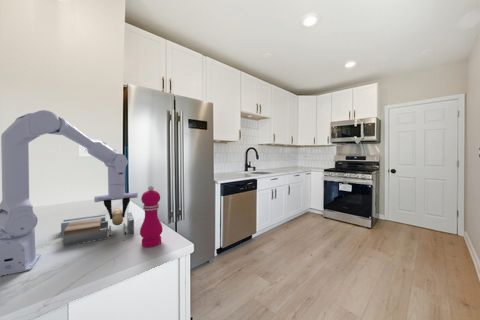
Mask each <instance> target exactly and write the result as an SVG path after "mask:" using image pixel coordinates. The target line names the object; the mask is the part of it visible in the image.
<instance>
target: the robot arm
mask: <svg viewBox="0 0 480 320" xmlns="http://www.w3.org/2000/svg"><path fill="white" fill-rule="evenodd" d="M47 134H48V135H57V136H63V137H65V138H67V139H69V140H71V141H73V142H74V143H76V144H78V145H80V146H82V147H84V148H85V149H86V150H87V153H88V155H90V156H92V157H94V158H95V159H97V160H99V161H101V162H103V163H104V166H105V167H107V184H108V185H107V187H108V188H107V189H108V190H107V191H108V192H107V193H108V194H104V195H97V196H94V201H93V202H94V203H98V202H99V203H100V202H103V205H104V206H105V209H106V210H107V213H108V215H109V220H112V212H113V210H112V209H113V208H112V201H115V200H116V201H118V200H121V202H122V204H121V205H122V209H121V211H122V216H123V219H124V218H125V216H126V211H127V208H128V206H129V204H130V201H131V199H137V198H138V197H139V196H138V192H126V175H125V174H126V167H127V165H128V164H129V160H128V159H127V157H126V155H124V154H123V153H118V152H117V150H116V149H112V148H111V147H110V146H109V145H107V142H105V141H101V140H96V141H95V140H93V139H92V138H90V137H89V136H87V135H85V134H84V133H83V132H82V131H80V130H79V129H78V128H76V127H75V126H74V125H71V124H70V123H69V122H68V121H67V120H66V119H64V118H63V117H61V116H58V115H57V114H56V113H54V112H53V111H50V110H44V109H43V110H38V111H35V112H30V113H26V114H24V115H21V116H19V117H16V118H15V120H14V121H13V122H12V123H11V125H9V126H8V127H7V128H6V129H5V130H4V131H3V132H2V133H1V136H0V138H1V139H0V142H1V143H0V147H1V149H0V150H1V192H2V193H1V195H2V196H1V198H2V199H1V202H0V277H2V275H4V276H7V274H8V275H12V274H17V273H21V272H25V271H29V270H32V268H33V267H34V266H35V264H36V262H38V260H39V258H40V257H41V255H42V254H41V253H37V254H36V231H35V230H36V229H35V228H36V226H37V225H38V217H37V215H36V214H35V212H34V210H33V209H34V207H33V203H32V201H31V200H30V171H29V170H30V169H29V166H30V165H29V164H30V162H29V158H30V157H29V155H30V154H29V143H30V142H32V141H34V140H36V139H37V138H39V137H40V136H43V135H47ZM33 265H34V266H33Z"/></svg>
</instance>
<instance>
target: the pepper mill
mask: <svg viewBox="0 0 480 320" xmlns="http://www.w3.org/2000/svg"><path fill="white" fill-rule="evenodd" d="M147 189H148V190H147V191H145V192H143V193H142V195H141V199H140V200H141V202H142V204H143V205H142V206H143V211H144V219H143V222H142V224H141V225H140V226H141V227H140V229H139V235H140V237H141V238H142V239H141V246H142V247H144V248H152V247H156V246H158V245H160V244H161V243H162V236H161V235H162V233H163V225H162V222H161V221H160V219H159V216H158V209H159V208H160V205H159V202H160V201H161V194H160V193H159V192H158V191H157V190H154V186H152V185H150V186H148V188H147Z"/></svg>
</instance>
